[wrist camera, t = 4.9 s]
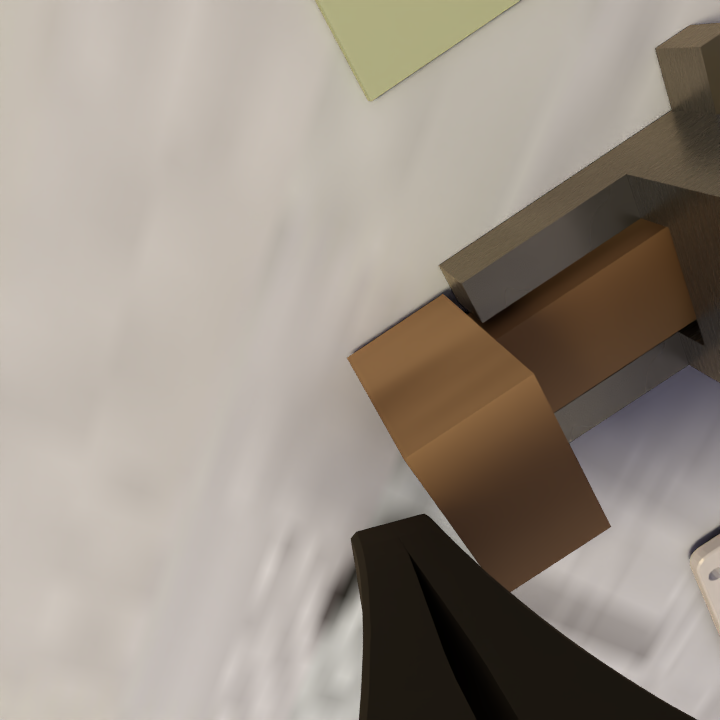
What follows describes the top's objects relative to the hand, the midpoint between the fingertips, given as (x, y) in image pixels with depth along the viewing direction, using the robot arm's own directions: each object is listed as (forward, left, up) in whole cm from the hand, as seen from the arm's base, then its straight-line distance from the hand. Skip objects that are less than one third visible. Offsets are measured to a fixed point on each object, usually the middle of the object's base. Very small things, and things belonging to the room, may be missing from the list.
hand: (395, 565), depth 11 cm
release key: (0, -5, -4) cm, 6 cm away
